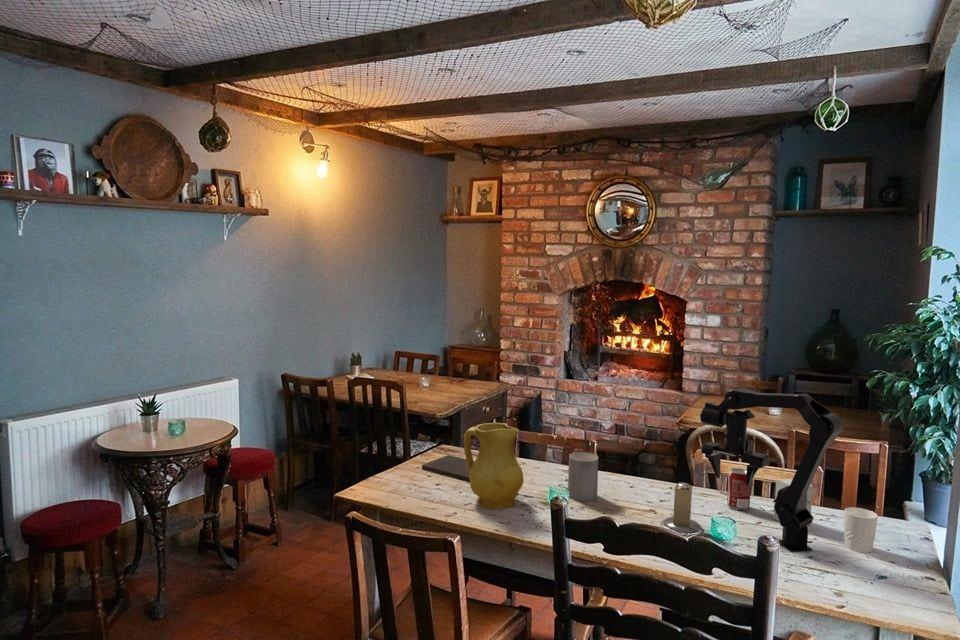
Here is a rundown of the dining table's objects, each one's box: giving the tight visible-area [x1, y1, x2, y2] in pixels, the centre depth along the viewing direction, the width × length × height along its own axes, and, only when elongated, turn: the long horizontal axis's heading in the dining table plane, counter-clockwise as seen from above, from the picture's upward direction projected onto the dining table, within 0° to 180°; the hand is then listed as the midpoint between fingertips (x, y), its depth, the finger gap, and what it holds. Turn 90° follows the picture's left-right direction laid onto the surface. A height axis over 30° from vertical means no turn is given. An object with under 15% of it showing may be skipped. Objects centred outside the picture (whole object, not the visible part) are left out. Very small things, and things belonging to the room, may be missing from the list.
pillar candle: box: [567, 451, 599, 502], centre depth 210 cm, size 10×10×15 cm
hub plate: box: [659, 516, 704, 537], centre depth 187 cm, size 12×12×1 cm
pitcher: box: [463, 422, 524, 510], centre depth 204 cm, size 17×19×25 cm
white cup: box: [843, 507, 879, 554], centre depth 176 cm, size 8×8×10 cm
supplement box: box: [773, 478, 814, 527], centre depth 193 cm, size 7×7×13 cm
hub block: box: [672, 482, 693, 528], centre depth 187 cm, size 4×4×12 cm
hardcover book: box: [421, 454, 475, 483], centre depth 235 cm, size 16×23×2 cm
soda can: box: [726, 467, 752, 511], centre depth 204 cm, size 7×7×12 cm
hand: (732, 482), depth 190 cm, fingers open, 9 cm apart
